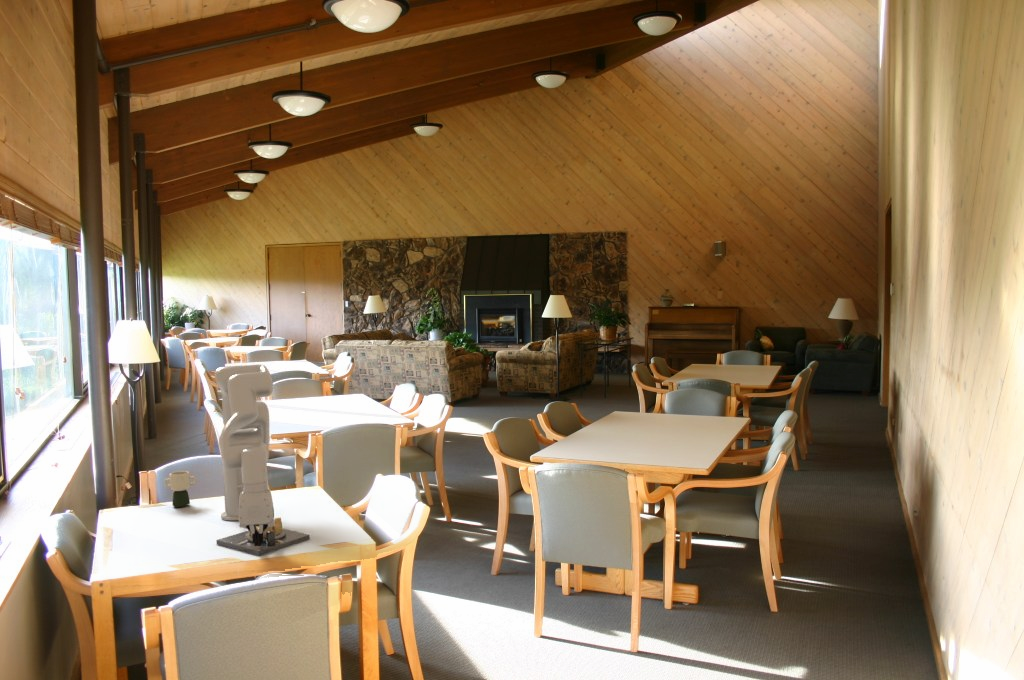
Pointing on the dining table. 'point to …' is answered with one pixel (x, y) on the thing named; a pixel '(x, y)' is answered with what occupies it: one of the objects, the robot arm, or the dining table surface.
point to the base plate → (246, 542)
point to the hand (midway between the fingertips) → (258, 544)
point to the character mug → (180, 487)
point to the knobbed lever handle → (271, 532)
